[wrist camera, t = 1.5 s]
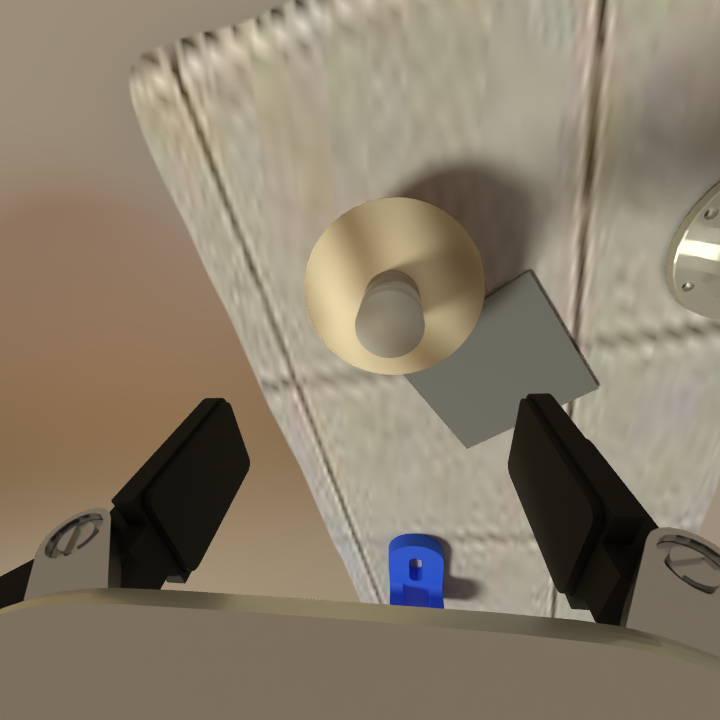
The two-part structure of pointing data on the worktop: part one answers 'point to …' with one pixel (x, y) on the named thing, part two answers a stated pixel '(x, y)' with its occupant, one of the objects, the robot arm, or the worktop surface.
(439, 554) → the bracket
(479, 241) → the worktop surface
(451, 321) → the lid
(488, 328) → the mat
